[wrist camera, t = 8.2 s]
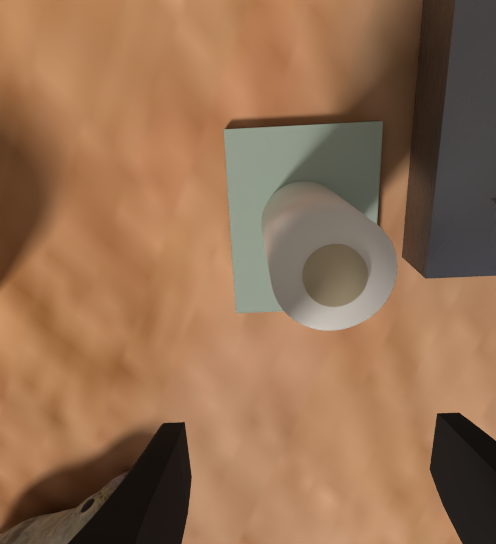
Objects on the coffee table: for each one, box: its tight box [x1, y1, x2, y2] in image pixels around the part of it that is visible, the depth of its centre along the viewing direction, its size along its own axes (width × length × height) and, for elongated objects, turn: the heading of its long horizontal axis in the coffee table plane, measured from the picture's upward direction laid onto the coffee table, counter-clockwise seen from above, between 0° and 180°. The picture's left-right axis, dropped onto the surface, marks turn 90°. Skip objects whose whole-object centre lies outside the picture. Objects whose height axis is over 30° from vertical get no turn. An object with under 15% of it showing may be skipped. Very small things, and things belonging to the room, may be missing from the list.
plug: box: [261, 181, 397, 331], centre depth 16 cm, size 4×4×7 cm
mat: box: [224, 121, 383, 313], centre depth 20 cm, size 9×7×1 cm
